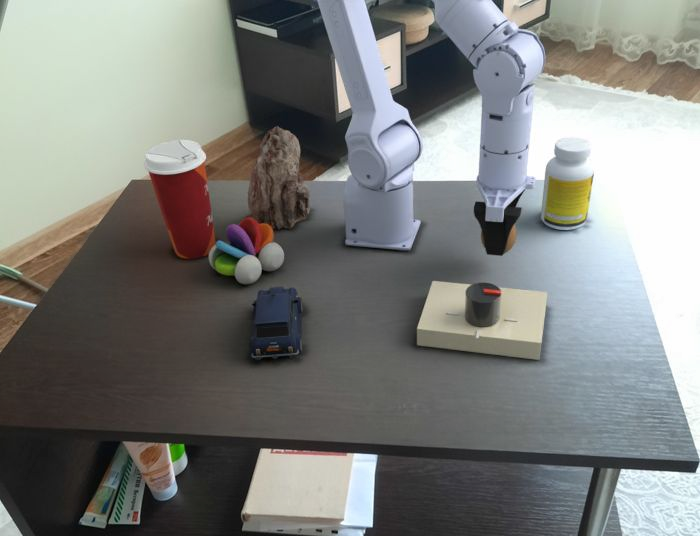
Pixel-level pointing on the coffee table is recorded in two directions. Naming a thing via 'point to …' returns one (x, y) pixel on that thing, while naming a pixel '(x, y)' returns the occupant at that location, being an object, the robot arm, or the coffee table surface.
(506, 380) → the coffee table surface
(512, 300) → the cream dial panel
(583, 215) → the pill bottle
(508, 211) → the robot arm
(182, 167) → the coffee cup
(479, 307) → the knob
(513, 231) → the egg
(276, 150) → the stone
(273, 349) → the toy car
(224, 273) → the rainbow baby rattle
